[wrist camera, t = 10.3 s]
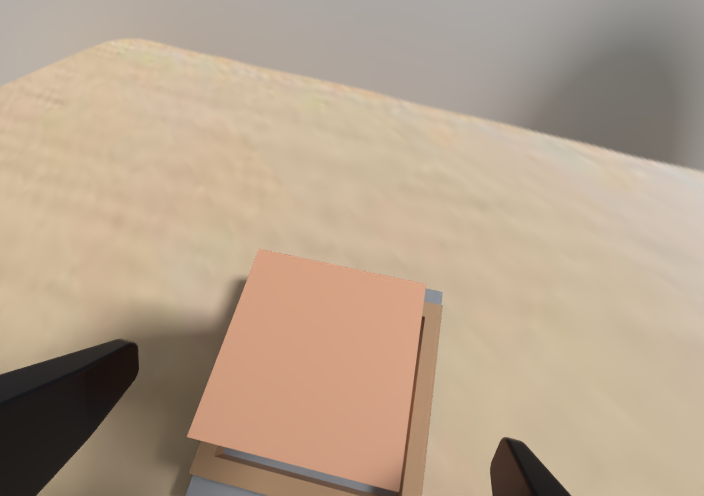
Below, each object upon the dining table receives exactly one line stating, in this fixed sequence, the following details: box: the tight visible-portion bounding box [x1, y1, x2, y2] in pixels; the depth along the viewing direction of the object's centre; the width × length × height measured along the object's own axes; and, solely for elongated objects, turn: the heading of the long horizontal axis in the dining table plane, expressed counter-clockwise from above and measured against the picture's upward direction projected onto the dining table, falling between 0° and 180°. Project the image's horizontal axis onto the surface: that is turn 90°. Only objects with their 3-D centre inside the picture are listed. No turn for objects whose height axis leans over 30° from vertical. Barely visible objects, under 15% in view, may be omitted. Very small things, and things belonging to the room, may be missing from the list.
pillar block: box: [187, 249, 426, 492], centre depth 13 cm, size 5×5×9 cm
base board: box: [185, 289, 443, 496], centre depth 17 cm, size 12×10×2 cm
